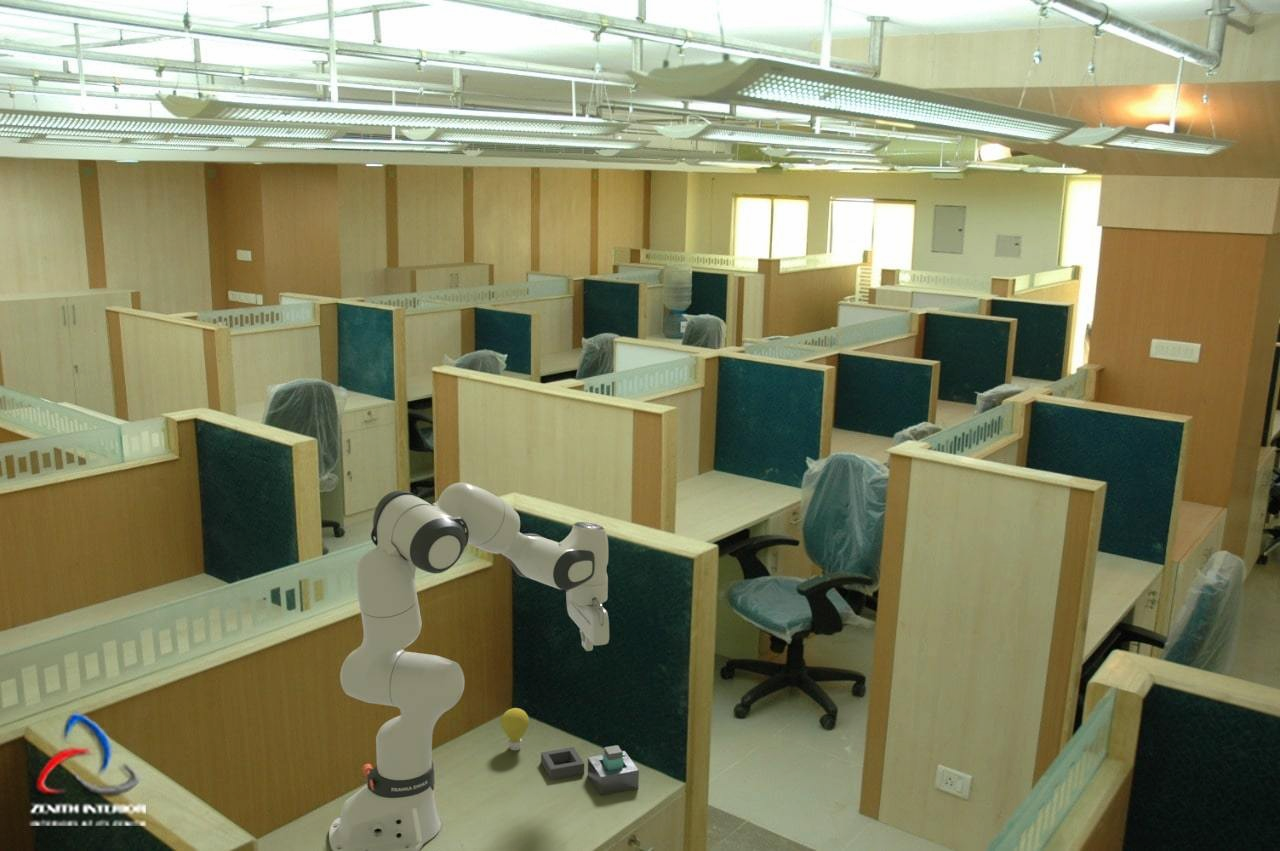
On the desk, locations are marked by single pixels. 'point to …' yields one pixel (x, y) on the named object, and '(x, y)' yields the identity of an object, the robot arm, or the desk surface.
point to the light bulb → (515, 726)
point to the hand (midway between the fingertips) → (587, 648)
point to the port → (613, 775)
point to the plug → (612, 758)
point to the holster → (562, 769)
